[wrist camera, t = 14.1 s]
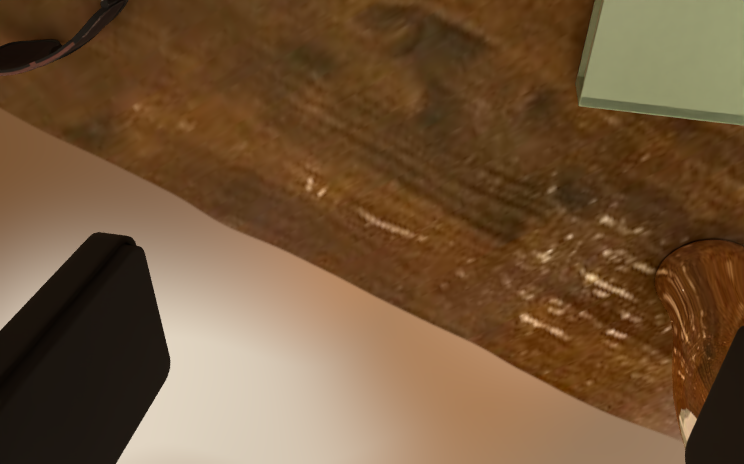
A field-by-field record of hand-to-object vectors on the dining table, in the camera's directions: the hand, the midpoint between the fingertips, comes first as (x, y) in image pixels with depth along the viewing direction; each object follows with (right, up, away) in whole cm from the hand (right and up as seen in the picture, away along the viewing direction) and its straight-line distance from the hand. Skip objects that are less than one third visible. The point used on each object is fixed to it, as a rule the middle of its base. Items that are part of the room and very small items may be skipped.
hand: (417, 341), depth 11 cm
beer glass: (+20, -1, +30) cm, 37 cm away
